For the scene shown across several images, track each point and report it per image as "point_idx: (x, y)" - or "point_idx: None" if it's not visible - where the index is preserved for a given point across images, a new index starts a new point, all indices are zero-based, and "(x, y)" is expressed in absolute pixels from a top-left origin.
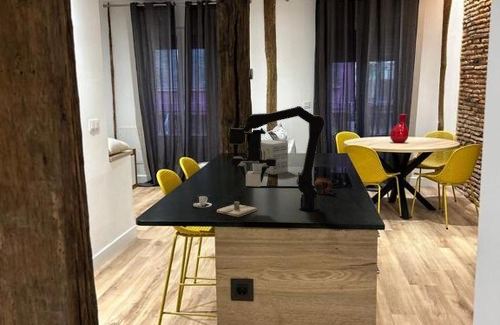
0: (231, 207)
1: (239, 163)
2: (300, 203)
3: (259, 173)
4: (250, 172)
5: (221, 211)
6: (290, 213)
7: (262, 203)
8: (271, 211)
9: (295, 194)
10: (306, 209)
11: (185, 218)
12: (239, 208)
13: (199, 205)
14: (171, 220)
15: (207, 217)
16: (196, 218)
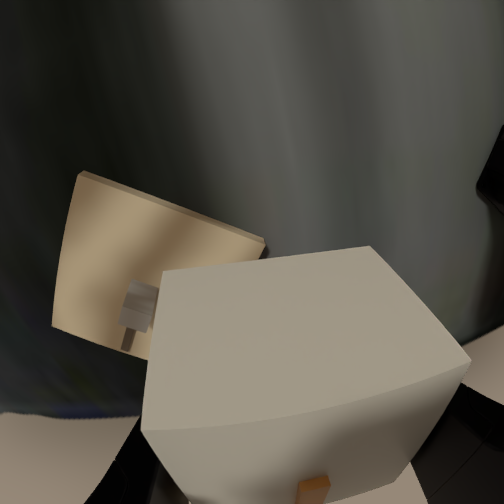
0: (95, 268)
1: None
2: (500, 169)
3: (395, 463)
4: (240, 482)
5: (85, 336)
6: (437, 252)
7: (261, 50)
8: (352, 238)
9: None
10: (499, 202)
11: (20, 394)
12: (157, 290)
13: None
14: (6, 409)
15: (73, 383)
16: (48, 394)
